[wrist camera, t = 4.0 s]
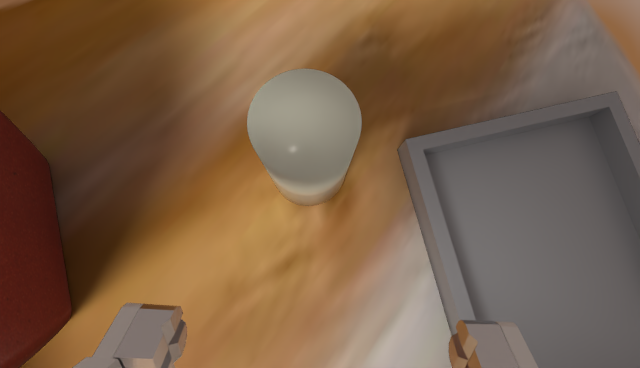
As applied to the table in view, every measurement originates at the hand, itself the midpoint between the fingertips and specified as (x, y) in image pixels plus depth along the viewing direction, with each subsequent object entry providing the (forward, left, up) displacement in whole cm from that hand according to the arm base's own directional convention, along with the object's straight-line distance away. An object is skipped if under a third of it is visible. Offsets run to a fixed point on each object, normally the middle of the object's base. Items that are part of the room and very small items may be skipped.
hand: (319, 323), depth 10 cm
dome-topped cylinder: (+8, -1, -15) cm, 17 cm away
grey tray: (-3, -16, -15) cm, 22 cm away
